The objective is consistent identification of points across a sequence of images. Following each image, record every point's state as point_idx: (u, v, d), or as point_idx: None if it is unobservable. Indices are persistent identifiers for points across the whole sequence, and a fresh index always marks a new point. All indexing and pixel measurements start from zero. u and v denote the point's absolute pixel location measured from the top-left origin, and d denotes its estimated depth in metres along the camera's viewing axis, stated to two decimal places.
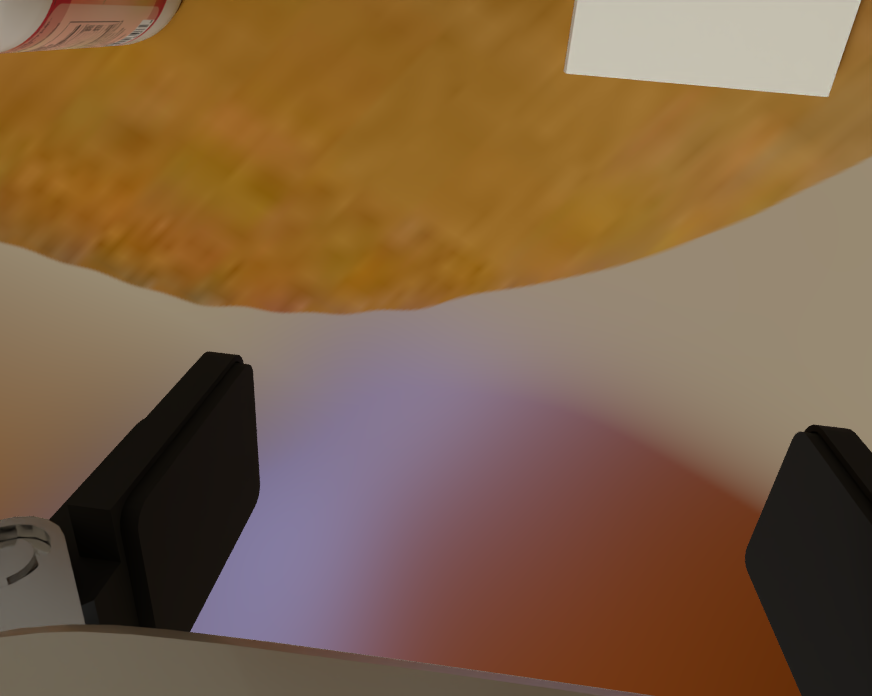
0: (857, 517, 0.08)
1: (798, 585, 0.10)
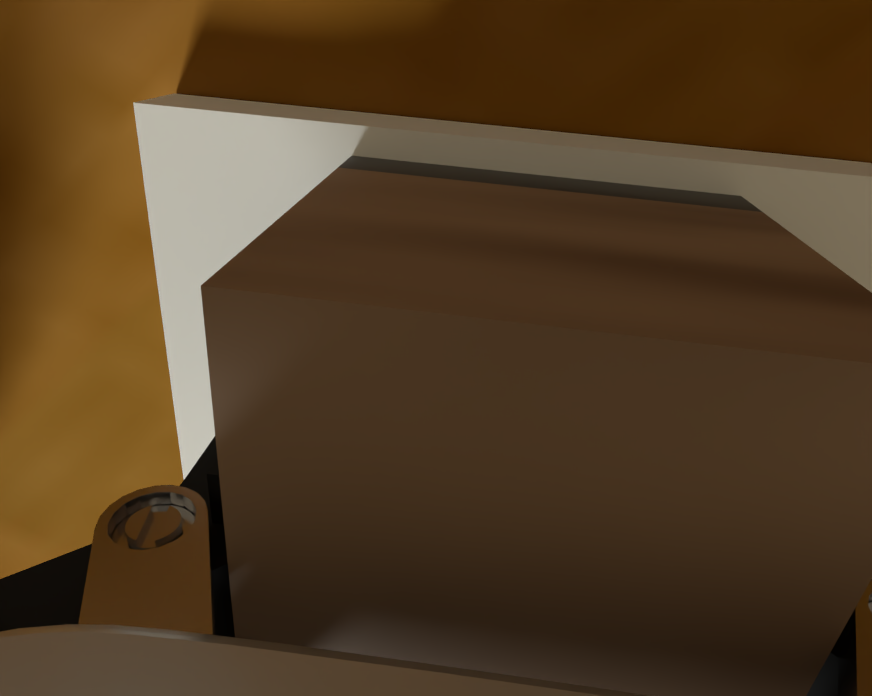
0: None
1: None
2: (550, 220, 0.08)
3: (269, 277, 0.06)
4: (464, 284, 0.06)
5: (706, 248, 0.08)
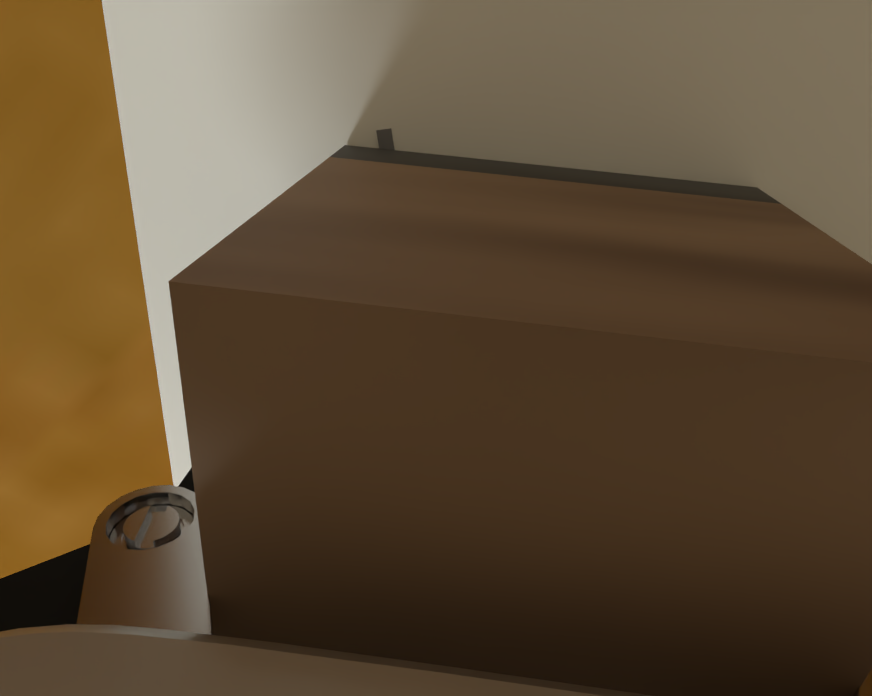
0: None
1: None
2: (556, 211, 0.08)
3: (246, 272, 0.05)
4: (461, 279, 0.05)
5: (724, 241, 0.07)
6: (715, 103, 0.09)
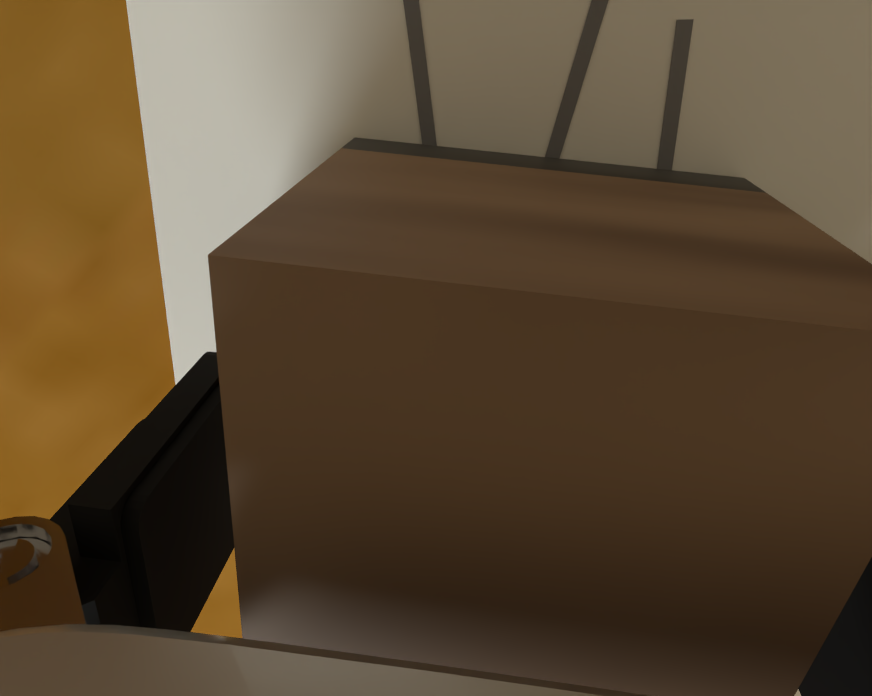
0: None
1: None
2: (554, 198, 0.08)
3: (276, 247, 0.06)
4: (469, 255, 0.06)
5: (711, 225, 0.08)
6: None
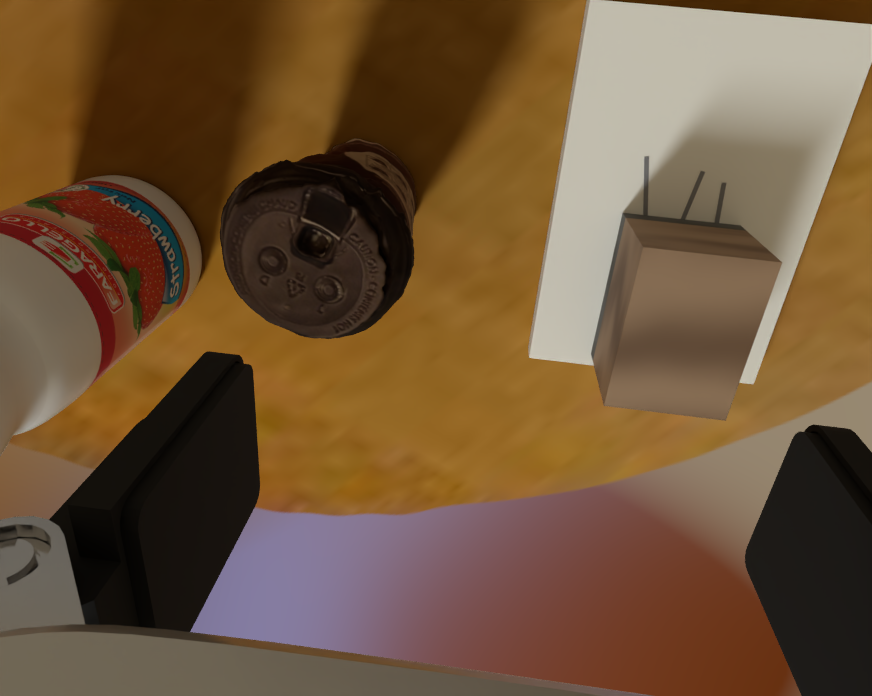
0: (857, 517, 0.08)
1: (798, 586, 0.10)
2: (693, 233, 0.33)
3: (652, 245, 0.30)
4: (686, 247, 0.31)
5: (732, 240, 0.32)
6: (745, 150, 0.33)
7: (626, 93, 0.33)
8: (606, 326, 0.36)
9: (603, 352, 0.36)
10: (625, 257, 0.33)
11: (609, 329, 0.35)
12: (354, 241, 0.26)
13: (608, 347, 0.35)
